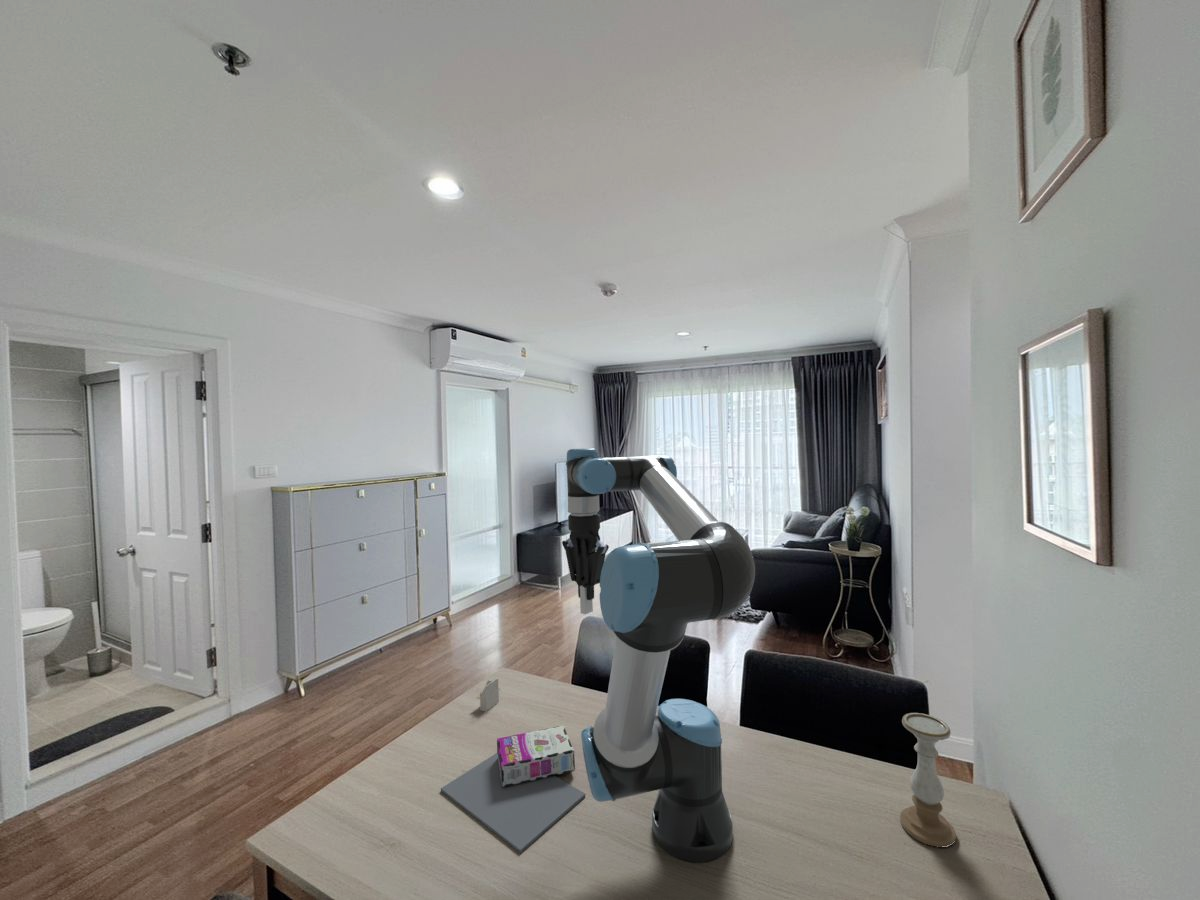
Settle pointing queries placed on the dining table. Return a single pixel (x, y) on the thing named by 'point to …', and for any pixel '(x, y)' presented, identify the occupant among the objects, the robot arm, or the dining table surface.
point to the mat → (512, 802)
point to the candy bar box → (534, 755)
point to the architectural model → (489, 695)
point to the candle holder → (927, 784)
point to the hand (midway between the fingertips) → (586, 612)
